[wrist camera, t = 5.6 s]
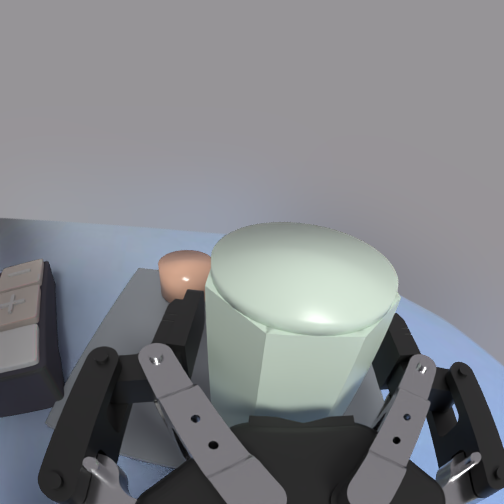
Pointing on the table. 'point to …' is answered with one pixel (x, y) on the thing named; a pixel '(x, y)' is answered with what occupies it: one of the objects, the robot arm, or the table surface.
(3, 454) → the table surface
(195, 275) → the pink pebble
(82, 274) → the table surface
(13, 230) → the table surface
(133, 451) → the mat
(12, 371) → the calculator
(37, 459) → the table surface
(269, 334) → the pale green faceted cylinder
